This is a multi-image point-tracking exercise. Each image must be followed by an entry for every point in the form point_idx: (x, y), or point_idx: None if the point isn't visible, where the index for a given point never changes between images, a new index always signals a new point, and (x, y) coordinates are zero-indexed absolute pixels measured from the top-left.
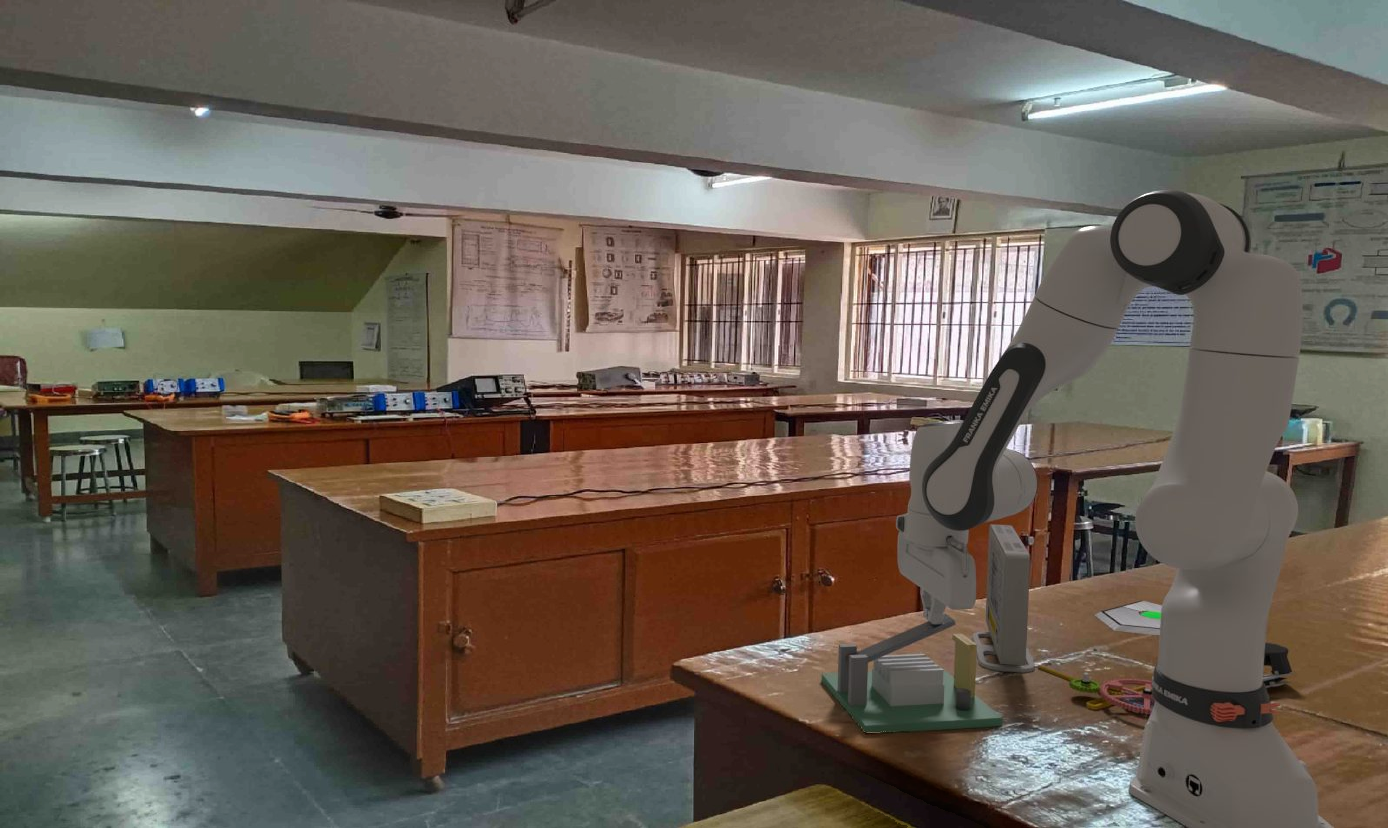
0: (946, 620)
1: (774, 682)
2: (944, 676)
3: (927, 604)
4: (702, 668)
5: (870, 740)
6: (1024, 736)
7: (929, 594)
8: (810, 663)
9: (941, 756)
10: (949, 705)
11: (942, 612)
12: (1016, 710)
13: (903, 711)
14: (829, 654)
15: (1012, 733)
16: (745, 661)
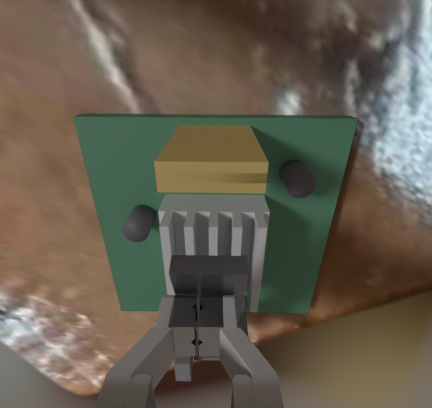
0: (225, 283)
1: (131, 343)
2: (129, 135)
3: (168, 360)
4: (89, 385)
5: (322, 304)
6: (406, 96)
7: (153, 400)
8: (52, 296)
9: (399, 251)
10: (275, 189)
11: (240, 330)
12: (293, 38)
13: (278, 261)
14: (2, 264)
15: (385, 112)
16: (58, 353)
